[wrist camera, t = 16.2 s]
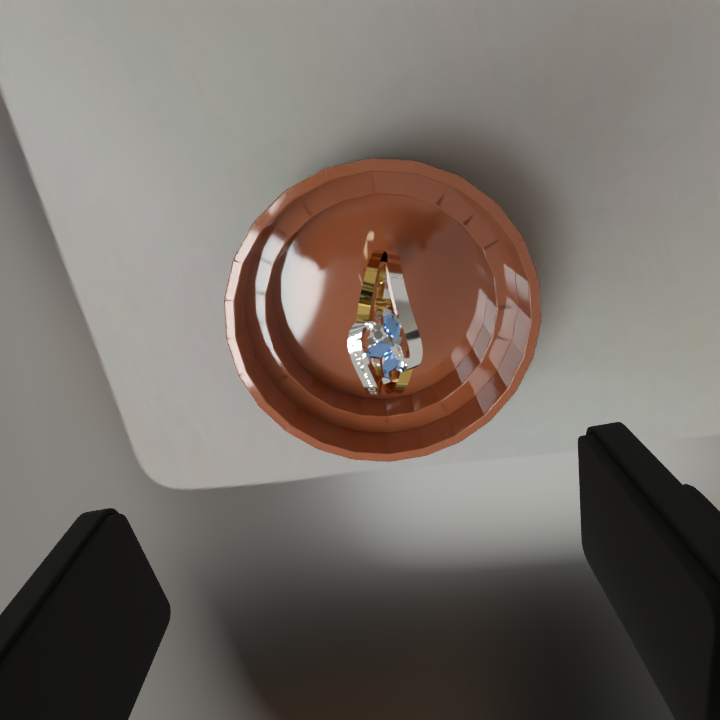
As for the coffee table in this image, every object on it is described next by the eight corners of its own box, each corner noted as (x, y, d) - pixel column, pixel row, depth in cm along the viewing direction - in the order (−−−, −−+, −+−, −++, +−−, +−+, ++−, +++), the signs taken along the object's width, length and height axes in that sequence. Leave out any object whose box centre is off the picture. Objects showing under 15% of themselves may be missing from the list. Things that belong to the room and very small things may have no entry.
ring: (359, 236, 26) (353, 266, 18) (418, 241, 26) (437, 274, 18) (349, 356, 28) (340, 425, 21) (403, 361, 28) (413, 431, 21)
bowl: (288, 433, 31) (273, 480, 26) (215, 194, 26) (179, 201, 21) (522, 393, 30) (550, 436, 25) (498, 130, 24) (528, 122, 19)
